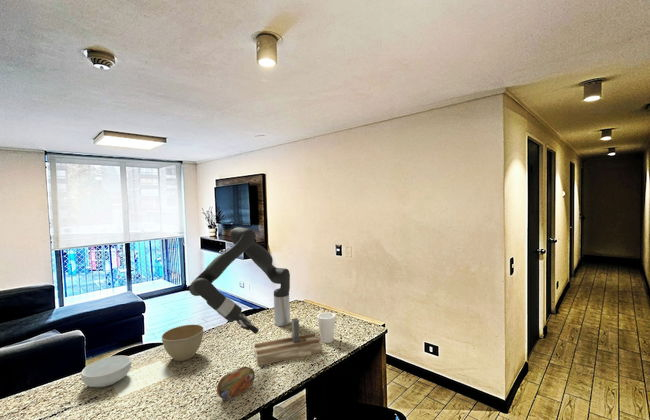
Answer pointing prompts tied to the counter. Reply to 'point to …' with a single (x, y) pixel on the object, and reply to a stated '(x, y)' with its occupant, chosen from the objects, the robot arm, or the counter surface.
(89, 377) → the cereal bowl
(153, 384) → the counter surface
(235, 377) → the tin
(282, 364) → the counter surface
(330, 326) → the foam cup
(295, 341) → the plunger
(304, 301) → the counter surface
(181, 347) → the deep beige bowl
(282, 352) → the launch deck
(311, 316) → the counter surface
